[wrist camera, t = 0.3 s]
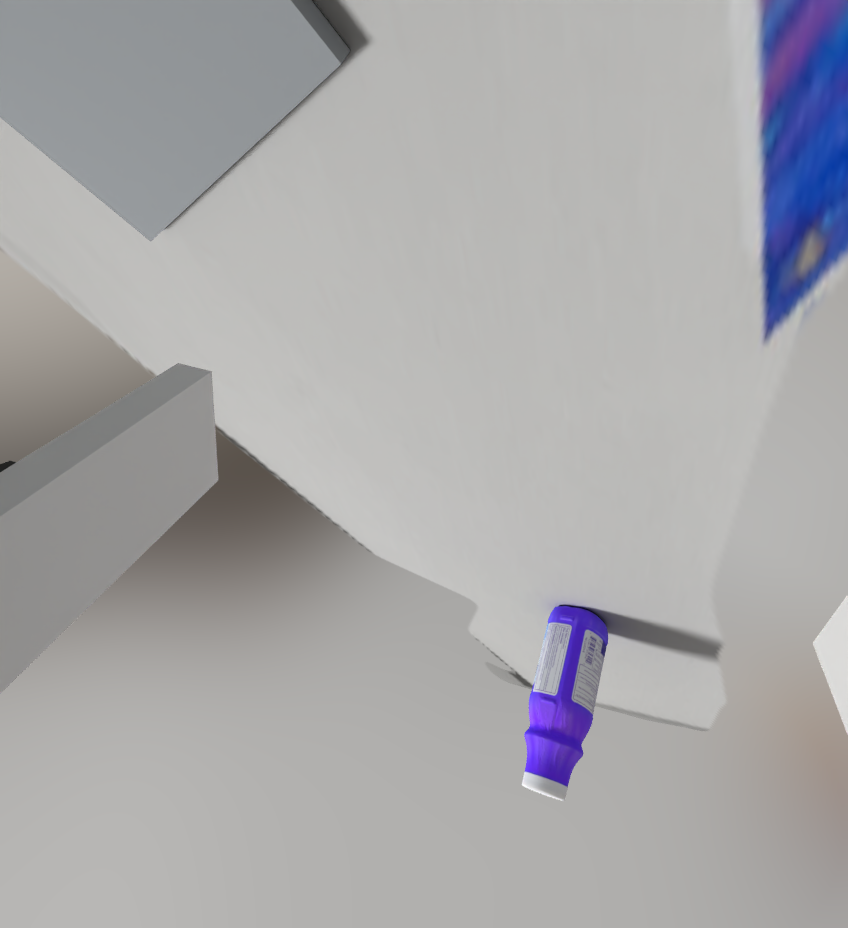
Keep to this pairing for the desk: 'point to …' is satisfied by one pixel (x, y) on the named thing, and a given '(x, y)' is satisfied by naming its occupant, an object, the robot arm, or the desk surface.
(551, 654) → the bottle
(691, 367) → the desk surface
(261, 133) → the mat
